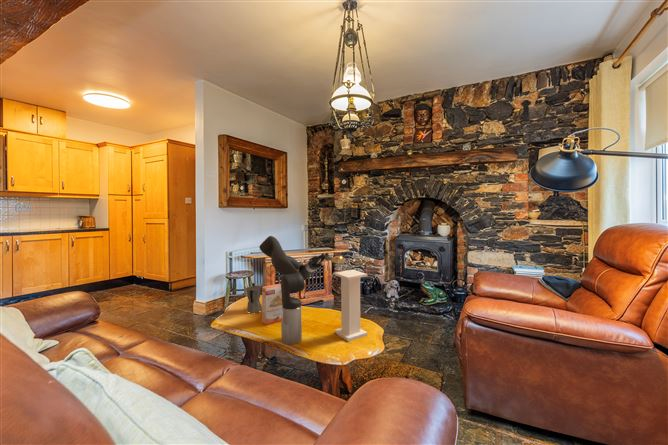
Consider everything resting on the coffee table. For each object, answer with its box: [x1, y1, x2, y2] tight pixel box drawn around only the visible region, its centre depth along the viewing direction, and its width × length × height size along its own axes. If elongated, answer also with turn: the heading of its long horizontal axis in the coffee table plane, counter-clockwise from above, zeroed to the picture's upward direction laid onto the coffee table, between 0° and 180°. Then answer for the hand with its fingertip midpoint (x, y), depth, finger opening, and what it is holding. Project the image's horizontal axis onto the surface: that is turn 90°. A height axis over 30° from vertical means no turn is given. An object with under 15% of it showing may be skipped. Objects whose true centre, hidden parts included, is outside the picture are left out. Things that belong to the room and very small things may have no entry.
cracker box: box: [261, 282, 283, 326], centre depth 166 cm, size 14×6×21 cm, turn 126°
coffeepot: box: [245, 282, 262, 314], centre depth 181 cm, size 15×9×18 cm, turn 6°
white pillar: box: [333, 269, 368, 343], centre depth 148 cm, size 12×12×32 cm
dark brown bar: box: [323, 255, 346, 264], centre depth 162 cm, size 5×20×3 cm, turn 33°
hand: (325, 254), depth 167 cm, fingers closed on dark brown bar, 2 cm apart
